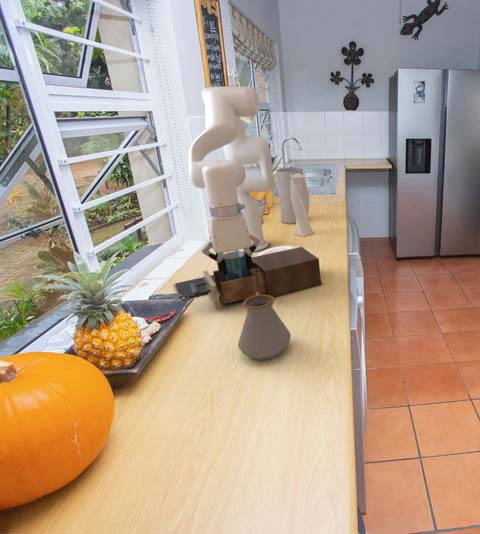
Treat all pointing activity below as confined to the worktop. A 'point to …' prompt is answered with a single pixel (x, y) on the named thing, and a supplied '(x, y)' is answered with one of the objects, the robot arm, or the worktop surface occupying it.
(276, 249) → the banana
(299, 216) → the skyscraper
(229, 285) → the drawer
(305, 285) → the cabinet
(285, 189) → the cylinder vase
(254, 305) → the turkish coffee pot
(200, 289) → the mat
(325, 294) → the worktop surface
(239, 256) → the teal blue cylinder
